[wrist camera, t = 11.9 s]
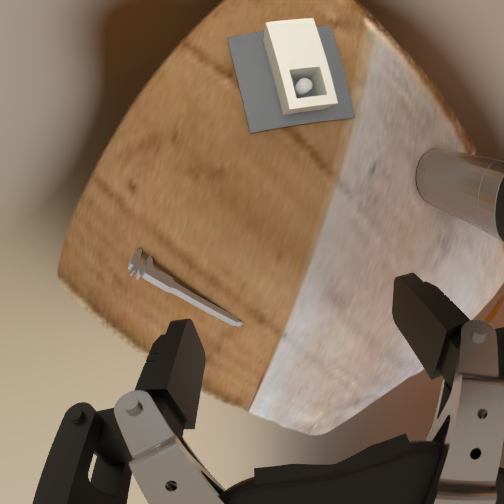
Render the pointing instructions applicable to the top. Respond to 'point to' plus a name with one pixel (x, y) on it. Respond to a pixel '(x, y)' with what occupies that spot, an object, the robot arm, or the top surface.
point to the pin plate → (265, 92)
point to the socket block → (298, 64)
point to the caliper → (176, 288)
